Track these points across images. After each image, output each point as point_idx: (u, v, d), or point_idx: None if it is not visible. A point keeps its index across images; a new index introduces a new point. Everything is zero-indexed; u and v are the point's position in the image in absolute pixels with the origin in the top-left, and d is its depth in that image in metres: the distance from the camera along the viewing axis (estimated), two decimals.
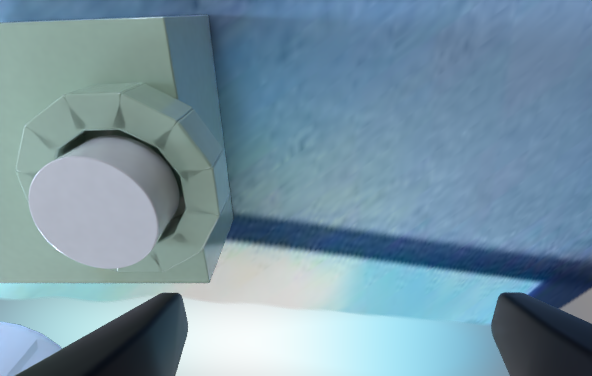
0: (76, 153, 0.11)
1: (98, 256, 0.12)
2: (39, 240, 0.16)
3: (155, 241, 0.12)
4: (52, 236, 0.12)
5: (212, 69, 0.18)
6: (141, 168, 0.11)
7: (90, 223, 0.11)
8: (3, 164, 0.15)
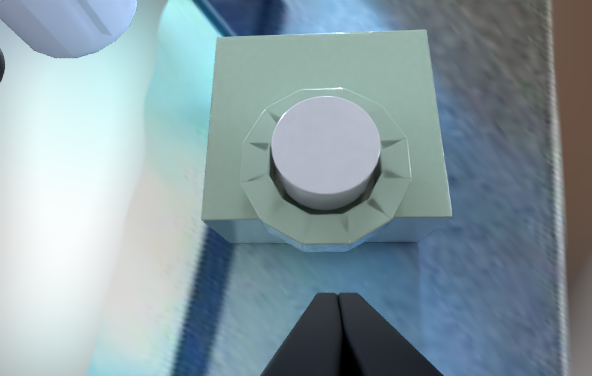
0: None
1: (285, 137, 0.14)
2: (259, 80, 0.19)
3: (300, 188, 0.13)
4: (306, 106, 0.14)
5: (378, 240, 0.21)
6: (361, 187, 0.14)
7: (319, 139, 0.14)
8: (330, 74, 0.18)
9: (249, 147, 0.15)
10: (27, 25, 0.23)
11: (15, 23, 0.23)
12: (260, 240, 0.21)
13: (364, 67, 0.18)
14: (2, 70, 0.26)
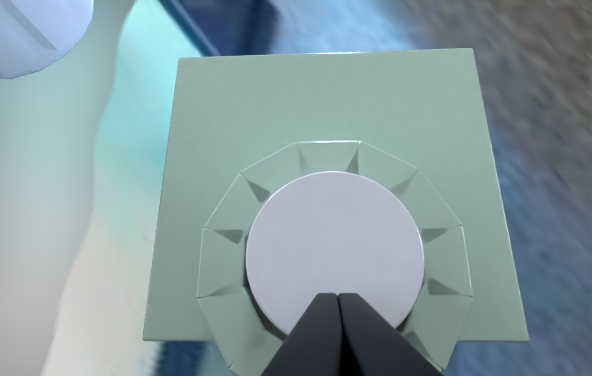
0: None
1: (269, 242, 0.08)
2: (236, 120, 0.13)
3: None
4: (303, 188, 0.09)
5: None
6: None
7: (324, 246, 0.08)
8: (337, 112, 0.13)
9: (213, 237, 0.10)
10: None
11: None
12: None
13: (387, 102, 0.13)
14: None
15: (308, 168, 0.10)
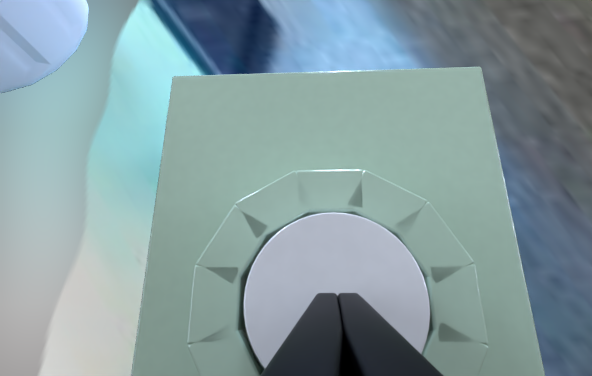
0: None
1: (268, 289, 0.08)
2: (232, 143, 0.12)
3: None
4: (303, 231, 0.08)
5: None
6: None
7: None
8: (339, 134, 0.12)
9: (205, 275, 0.09)
10: None
11: None
12: None
13: (391, 124, 0.12)
14: None
15: (308, 199, 0.10)
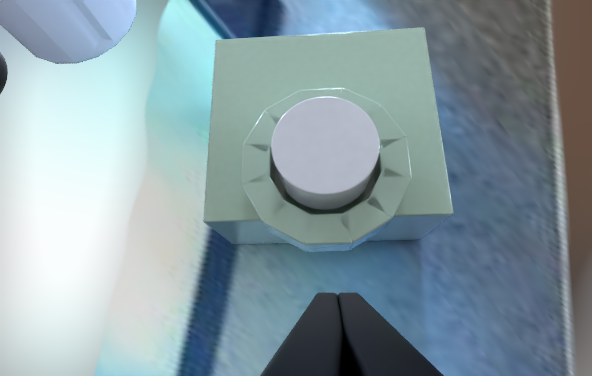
0: None
1: (285, 138, 0.14)
2: (258, 82, 0.19)
3: (300, 189, 0.13)
4: (305, 107, 0.14)
5: (380, 238, 0.21)
6: (361, 186, 0.14)
7: (318, 139, 0.14)
8: (329, 74, 0.19)
9: (249, 148, 0.15)
10: (28, 32, 0.24)
11: (16, 30, 0.24)
12: (263, 241, 0.21)
13: (363, 66, 0.19)
14: (5, 77, 0.26)
15: None
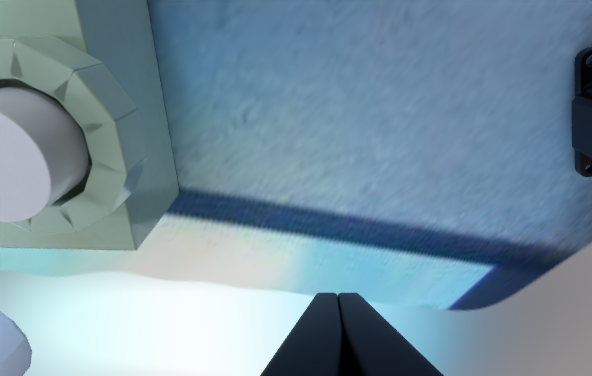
0: None
1: None
2: None
3: (50, 193, 0.11)
4: None
5: (148, 35, 0.17)
6: (34, 116, 0.11)
7: None
8: None
9: (34, 225, 0.14)
10: None
11: None
12: (169, 168, 0.20)
13: None
14: None
15: None
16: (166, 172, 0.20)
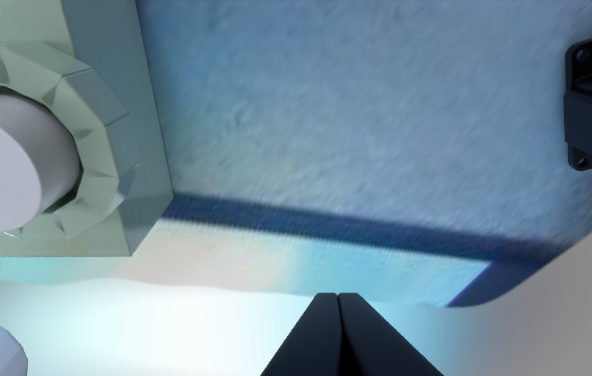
0: None
1: None
2: None
3: (40, 201, 0.11)
4: None
5: (138, 38, 0.17)
6: (22, 123, 0.11)
7: None
8: None
9: (26, 234, 0.14)
10: None
11: None
12: (162, 172, 0.20)
13: None
14: None
15: None
16: (160, 176, 0.19)
